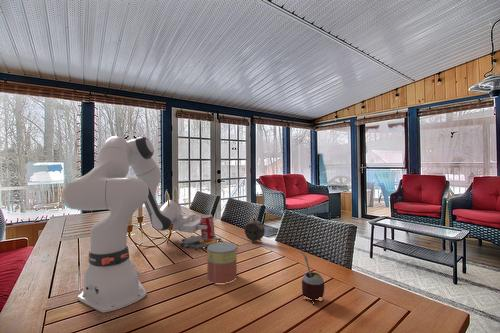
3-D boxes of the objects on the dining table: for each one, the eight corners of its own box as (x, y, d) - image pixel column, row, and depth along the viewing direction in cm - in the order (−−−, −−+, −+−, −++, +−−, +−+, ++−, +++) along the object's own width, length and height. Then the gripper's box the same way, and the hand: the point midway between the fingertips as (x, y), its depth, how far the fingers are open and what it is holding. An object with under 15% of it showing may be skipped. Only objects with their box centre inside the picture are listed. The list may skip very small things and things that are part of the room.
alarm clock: (265, 242, 139) (265, 213, 138) (260, 245, 134) (260, 215, 134) (248, 239, 144) (248, 211, 144) (242, 241, 140) (242, 212, 140)
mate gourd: (325, 307, 78) (325, 258, 78) (299, 304, 79) (299, 257, 79) (322, 294, 85) (323, 250, 85) (298, 292, 87) (299, 248, 86)
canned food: (235, 270, 104) (235, 241, 104) (238, 283, 93) (238, 251, 92) (207, 272, 102) (207, 242, 102) (207, 286, 91) (207, 252, 91)
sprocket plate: (230, 242, 139) (230, 239, 139) (196, 253, 122) (196, 250, 122) (204, 234, 154) (204, 231, 154) (171, 243, 137) (171, 240, 137)
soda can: (213, 241, 135) (211, 217, 134) (199, 241, 136) (198, 217, 135) (216, 236, 143) (214, 213, 141) (203, 236, 143) (202, 213, 142)
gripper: (176, 222, 130) (201, 224, 127) (195, 214, 150) (217, 215, 146) (176, 234, 131) (201, 236, 127) (195, 224, 150) (217, 226, 146)
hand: (210, 225), depth 137 cm, fingers open, 6 cm apart
